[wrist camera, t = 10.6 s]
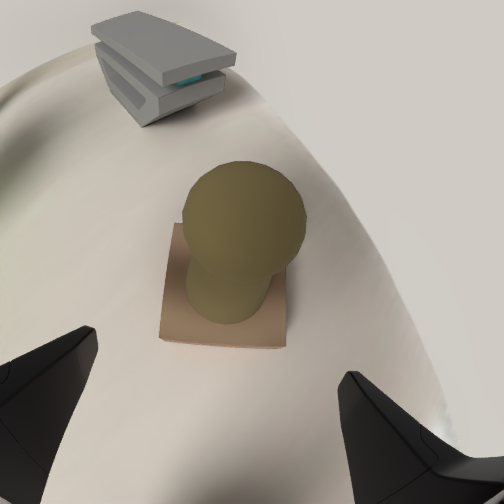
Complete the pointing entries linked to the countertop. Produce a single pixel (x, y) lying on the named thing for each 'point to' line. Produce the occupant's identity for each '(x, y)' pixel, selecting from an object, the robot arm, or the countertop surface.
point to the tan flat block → (209, 333)
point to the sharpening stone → (158, 65)
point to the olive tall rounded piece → (239, 238)
